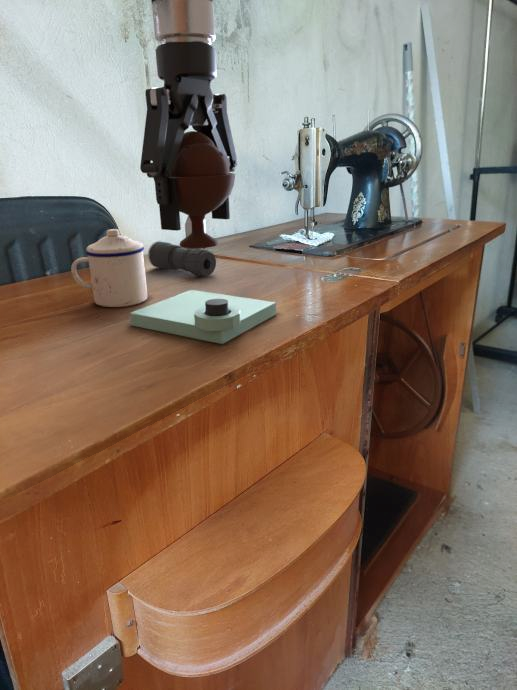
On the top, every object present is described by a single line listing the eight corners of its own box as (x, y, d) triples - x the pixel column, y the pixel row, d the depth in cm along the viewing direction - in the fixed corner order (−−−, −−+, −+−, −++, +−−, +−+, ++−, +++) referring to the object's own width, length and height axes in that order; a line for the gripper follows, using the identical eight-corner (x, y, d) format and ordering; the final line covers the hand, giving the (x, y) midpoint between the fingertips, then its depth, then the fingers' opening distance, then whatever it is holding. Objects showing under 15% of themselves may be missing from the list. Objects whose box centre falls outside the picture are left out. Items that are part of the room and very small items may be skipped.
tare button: (201, 316, 67) (200, 303, 66) (214, 309, 69) (214, 297, 69) (220, 319, 66) (219, 306, 65) (233, 313, 68) (232, 300, 67)
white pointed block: (206, 243, 134) (204, 204, 131) (201, 248, 128) (198, 207, 125) (192, 243, 135) (190, 204, 131) (186, 248, 129) (183, 207, 125)
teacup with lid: (153, 292, 91) (146, 224, 86) (143, 307, 82) (135, 233, 78) (84, 294, 90) (74, 226, 86) (68, 309, 82) (55, 235, 78)
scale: (126, 327, 73) (123, 303, 72) (191, 300, 85) (190, 280, 84) (224, 348, 65) (222, 321, 64) (281, 315, 77) (281, 292, 75)
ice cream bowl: (145, 245, 74) (134, 132, 69) (209, 235, 81) (203, 132, 75) (185, 255, 66) (176, 129, 61) (252, 244, 73) (249, 129, 68)
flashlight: (219, 274, 102) (218, 247, 100) (199, 280, 98) (197, 251, 96) (169, 264, 111) (167, 239, 109) (149, 269, 108) (146, 243, 106)
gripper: (215, 58, 76) (223, 212, 84) (92, 34, 57) (117, 234, 65) (259, 52, 72) (262, 214, 80) (143, 24, 54) (162, 238, 62)
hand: (197, 223), depth 73 cm, fingers closed on ice cream bowl, 11 cm apart
